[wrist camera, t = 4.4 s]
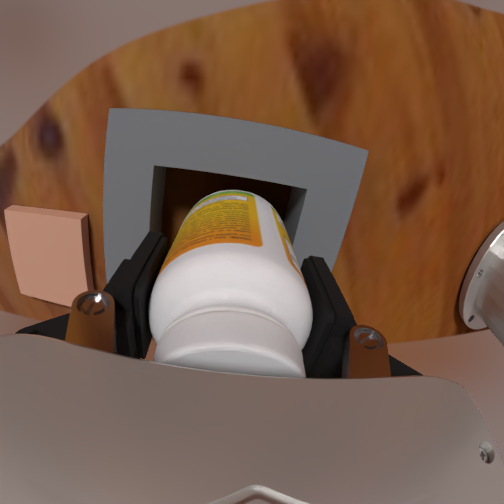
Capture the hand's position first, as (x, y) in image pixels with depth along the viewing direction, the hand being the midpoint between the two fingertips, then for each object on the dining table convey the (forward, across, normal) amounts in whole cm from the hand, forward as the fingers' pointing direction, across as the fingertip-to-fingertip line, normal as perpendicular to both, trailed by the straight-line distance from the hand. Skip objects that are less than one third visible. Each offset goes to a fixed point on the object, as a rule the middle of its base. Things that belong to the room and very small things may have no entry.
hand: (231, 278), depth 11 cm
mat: (+5, +13, +4) cm, 14 cm away
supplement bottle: (+4, 0, 0) cm, 4 cm away
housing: (+6, +1, 0) cm, 6 cm away
